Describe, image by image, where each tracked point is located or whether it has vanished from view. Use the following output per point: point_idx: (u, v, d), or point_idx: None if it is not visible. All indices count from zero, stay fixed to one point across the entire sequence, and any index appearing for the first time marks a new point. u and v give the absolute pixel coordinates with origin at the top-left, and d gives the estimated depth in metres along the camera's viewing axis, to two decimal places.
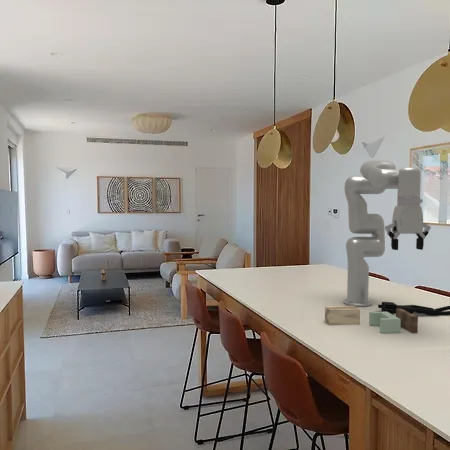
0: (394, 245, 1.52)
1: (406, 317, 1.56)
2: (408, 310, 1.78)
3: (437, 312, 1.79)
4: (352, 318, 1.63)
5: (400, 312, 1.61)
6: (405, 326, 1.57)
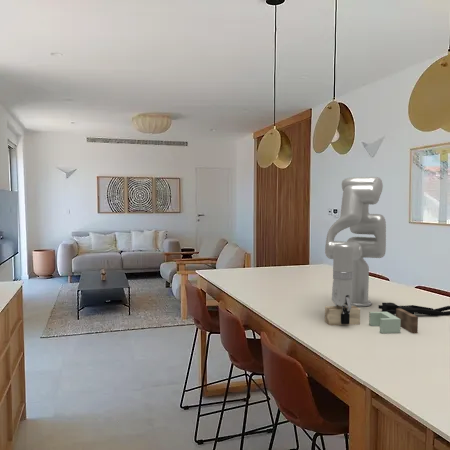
0: None
1: (406, 317, 1.56)
2: (409, 311, 1.77)
3: (437, 312, 1.78)
4: (352, 318, 1.63)
5: (400, 312, 1.61)
6: (405, 326, 1.57)
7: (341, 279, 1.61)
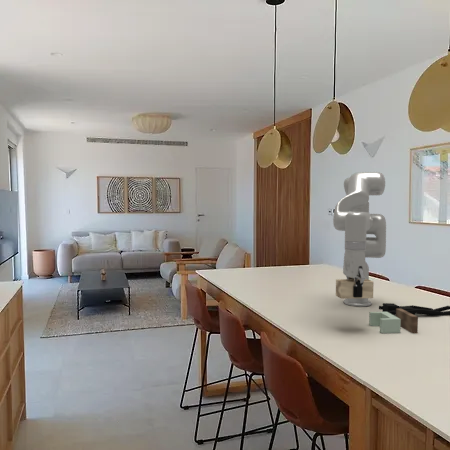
0: None
1: (406, 317, 1.56)
2: (410, 311, 1.77)
3: (437, 312, 1.78)
4: (365, 291, 1.53)
5: (400, 312, 1.61)
6: (405, 326, 1.57)
7: (354, 249, 1.52)
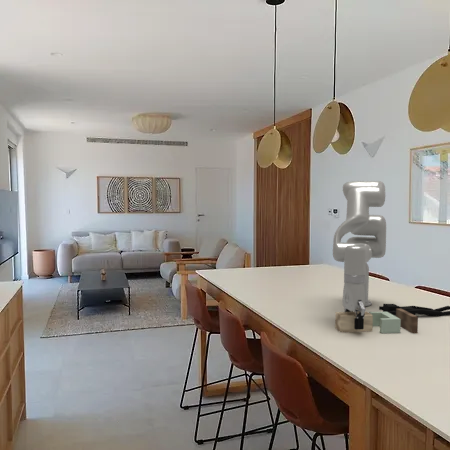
0: None
1: (406, 317, 1.56)
2: (411, 311, 1.76)
3: (438, 312, 1.78)
4: (364, 324, 1.54)
5: (400, 312, 1.61)
6: (405, 326, 1.57)
7: (353, 283, 1.52)
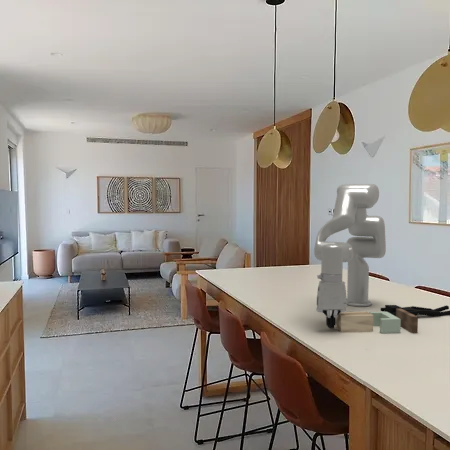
0: None
1: (406, 317, 1.56)
2: (413, 312, 1.75)
3: (438, 313, 1.77)
4: (365, 324, 1.54)
5: (400, 312, 1.61)
6: (405, 326, 1.57)
7: (342, 281, 1.54)
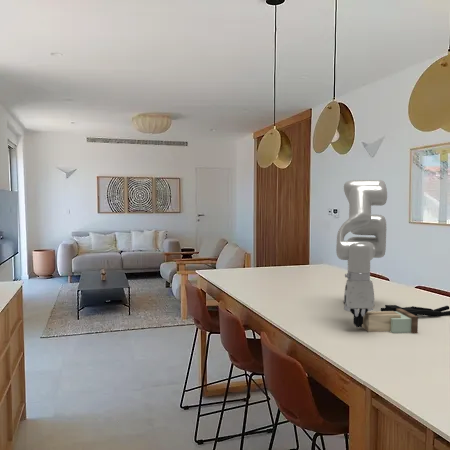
0: None
1: None
2: (413, 312, 1.75)
3: (439, 313, 1.77)
4: None
5: (400, 312, 1.61)
6: None
7: (369, 280, 1.54)
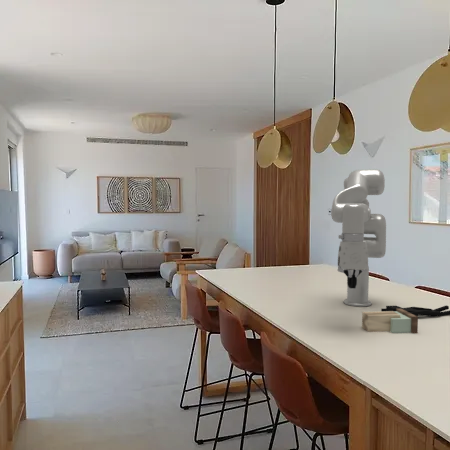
0: None
1: None
2: (414, 313, 1.74)
3: (439, 313, 1.77)
4: None
5: (400, 312, 1.61)
6: None
7: (363, 240, 1.53)
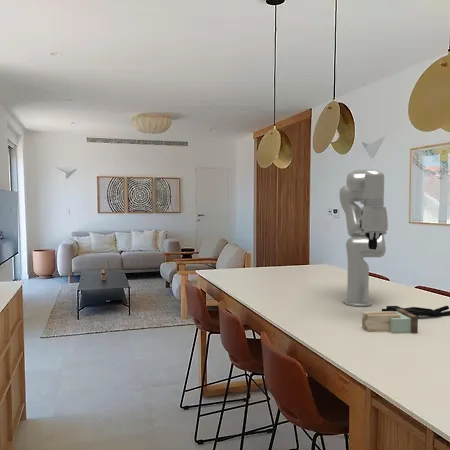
0: None
1: None
2: (415, 313, 1.74)
3: (439, 313, 1.77)
4: None
5: (400, 312, 1.61)
6: None
7: (383, 205, 1.68)
